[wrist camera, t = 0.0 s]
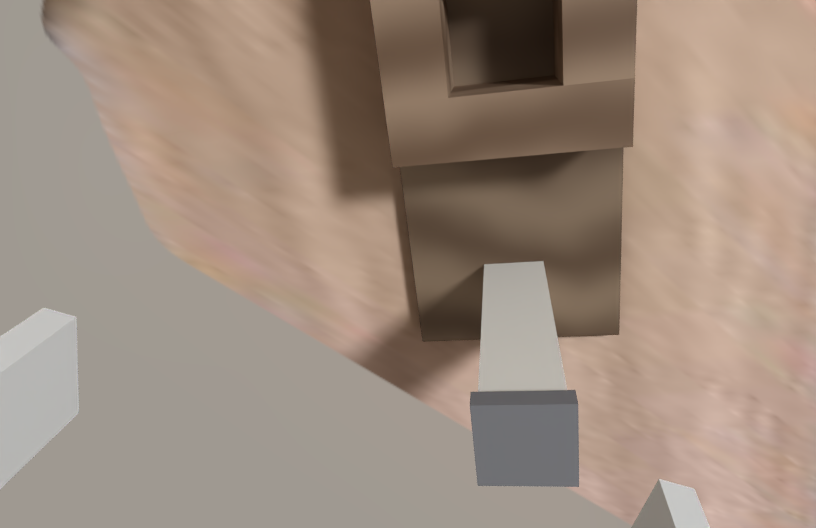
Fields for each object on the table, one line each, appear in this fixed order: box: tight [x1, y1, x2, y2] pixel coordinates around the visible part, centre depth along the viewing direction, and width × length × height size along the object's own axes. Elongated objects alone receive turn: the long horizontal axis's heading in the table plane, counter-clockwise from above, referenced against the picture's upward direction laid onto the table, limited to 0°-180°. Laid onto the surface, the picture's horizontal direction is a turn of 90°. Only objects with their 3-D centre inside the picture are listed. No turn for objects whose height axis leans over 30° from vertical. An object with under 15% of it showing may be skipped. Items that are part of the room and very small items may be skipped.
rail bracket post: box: [470, 261, 579, 487], centre depth 33 cm, size 5×5×16 cm
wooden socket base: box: [370, 0, 637, 341], centre depth 35 cm, size 29×14×6 cm, turn 7°
